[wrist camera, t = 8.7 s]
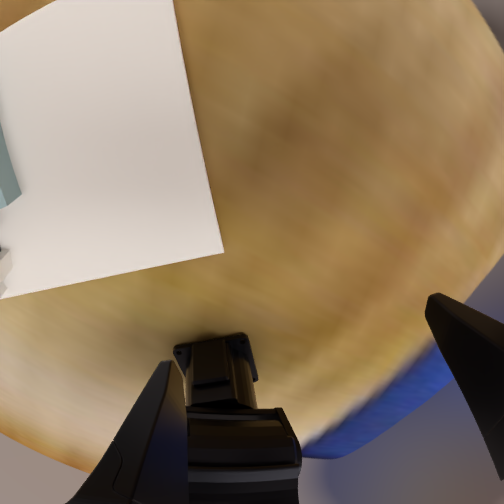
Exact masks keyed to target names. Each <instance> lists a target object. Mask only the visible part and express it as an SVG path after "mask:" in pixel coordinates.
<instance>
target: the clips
mask: <svg viewBox="0 0 504 504" xmlns="http://www.w3.org/2000/svg"><path fill="white" fill-rule="evenodd" d="M12 268H13V266H12V261H11V255H10V250H7V249H2V250H1V252H0V298H1V297H2V295H3V294H4V292H5V291H6V290H7V287H6V286H5V284H4V283H3V280H4V279H5V278H6V276H7V275H8V274H9V272H10V271H11V270H12Z"/></svg>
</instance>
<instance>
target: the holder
mask: <svg viewBox="0 0 504 504" xmlns="http://www.w3.org/2000/svg"><path fill="white" fill-rule="evenodd" d="M21 195H22V193H21V190H20V188H19V185H18V182H17V179H16V176H15V173H14V170H13V166H12V163H11V160H10V157H9V153H8V150H7V146H6V143H5V139H4V135H3V131H2V127H1V123H0V209H1V208H4V207H6V206H8V205H9V204H10V203H12V202H13V201H14V200H15V199H17V198H18V197H19V196H21Z"/></svg>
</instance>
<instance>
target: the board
mask: <svg viewBox="0 0 504 504" xmlns="http://www.w3.org/2000/svg"><path fill="white" fill-rule="evenodd" d="M0 123H1V127H2V131H3V135H4V139H5V143H6V146H7V150H8V153H9V157H10V160H11V163H12V166H13V170H14V173H15V176H16V179H17V182H18V185H19V188H20V190H21V193H22V195H21V196H19V197H18V198H17V199H15V200H14V201H13V202H12V203H10V204H9V205H8V206H6V207H4V208H1V209H0V248H1V250H2V249H7V250H10V255H11V261H12V266H13V268H12V270H11V271H10V272H9V274H8V275H7V276H6V278H5V279H4V280H3V283H4V284H5V286H6V287H7V290H6V291H5V292H4V294H3V295H2V297H1V298H0V299H4V298H8V297H13V296H18V295H22V294H27V293H32V292H36V291H41V290H46V289H50V288H55V287H60V286H65V285H69V284H74V283H79V282H84V281H88V280H93V279H98V278H103V277H108V276H112V275H117V274H122V273H127V272H132V271H136V270H141V269H146V268H151V267H156V266H161V265H165V264H170V263H175V262H180V261H185V260H190V259H195V258H199V257H204V256H209V255H214V254H219V253H224V248H223V243H222V239H221V234H220V230H219V225H218V221H217V217H216V212H215V208H214V203H213V199H212V194H211V190H210V185H209V181H208V176H207V172H206V167H205V162H204V158H203V153H202V148H201V143H200V139H199V134H198V129H197V124H196V119H195V114H194V110H193V105H192V100H191V95H190V90H189V84H188V79H187V74H186V69H185V64H184V59H183V53H182V48H181V42H180V37H179V32H178V26H177V20H176V15H175V9H174V3H173V0H56V1H54V2H52V3H50V4H48V5H46V6H44V7H42V8H41V9H39V10H37V11H35V12H33V13H31V14H30V15H28V16H26V17H24V18H23V19H21V20H19V21H18V22H16V23H14V24H13V25H11V26H10V27H8V28H6V29H5V30H3V31H2V32H0Z"/></svg>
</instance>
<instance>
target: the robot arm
mask: <svg viewBox="0 0 504 504" xmlns="http://www.w3.org/2000/svg"><path fill="white" fill-rule="evenodd" d="M425 318H426V320H427V322H428V325H429V327H430V329H431V331H432V333H433V336H434V338H435V340H436V343H437V345H438V347H439V349H440V352H441V353H442V355H443V357H444V359H445V361H446V363H447V365H448V366H449V368H450V370H451V372H452V374H453V376H454V378H455V380H456V381H457V383H458V385H459V387H460V389H461V391H462V393H463V395H464V397H465V399H466V401H467V403H468V405H469V408H470V410H471V412H472V414H473V416H474V418H475V420H476V422H477V425H478V427H479V429H480V431H481V434H482V436H483V438H484V441H485V443H486V445H487V448H488V450H489V453H490V455H491V457H492V460H493V462H494V465H495V468H496V470H497V473H498V476H499V478H500V480H501V481H502V480H503V479H504V324H503V323H501V322H499V321H497V320H495V319H493V318H491V317H489V316H487V315H485V314H483V313H481V312H479V311H477V310H475V309H473V308H470V307H469V306H466V305H464V304H462V303H460V302H458V301H456V300H454V299H452V298H450V297H448V296H446V295H444V294H441V293H435V294H432V295H430V296H429V297H428V300H427V305H426V309H425ZM241 340H242V341H241ZM173 354H174V356H175V358H176V360H177V362H178V364H179V366H180V368H181V370H182V372H183V374H184V376H185V377H186V406H185V398H184V389H183V380H182V376H181V373H180V372H179V370H178V368H177V366H176V364H175V363H174V361H173V360H165V361H161V362H160V363H159V364H158V366H157V368H156V369H155V371H154V373H153V374H152V376H151V378H150V379H149V381H148V383H147V384H146V386H145V387H144V389H143V391H142V392H141V394H140V396H139V397H138V399H137V401H136V402H135V404H134V406H133V407H132V409H131V411H130V412H129V414H128V416H127V417H126V419H125V421H124V422H123V424H122V426H121V427H120V429H119V431H118V432H117V434H116V436H115V437H114V439H113V440H114V441H112V442H111V444H110V446H109V447H108V449H107V451H106V452H105V454H104V455H103V457H102V459H101V460H100V462H99V463H98V465H97V466H96V467H95V469H94V470H93V472H92V473H91V474H90V476H89V477H88V478H87V480H86V481H85V482H84V483H83V485H82V486H81V488H80V489H79V490H78V491H77V493H76V494H75V495H74V496H73V498H71V499H70V500H69V501H68V502H67V503H65V504H299V500H298V476H299V474H300V471H301V466H302V453H301V447H300V444H299V441H298V439H297V437H296V435H295V433H294V431H293V429H292V427H291V425H290V423H289V421H288V419H287V417H286V415H285V413H284V411H283V409H282V408H274V409H258V408H257V402H256V397H255V391H254V385H253V382H256V381H258V374H257V370H256V366H255V362H254V358H253V354H252V350H251V346H250V342H249V338H248V336H247V335H245V334H241V335H236V336H230V337H225V338H219V339H214V340H208V341H202V342H197V343H191V344H184V345H178V346H175V347H174V348H173Z"/></svg>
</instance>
